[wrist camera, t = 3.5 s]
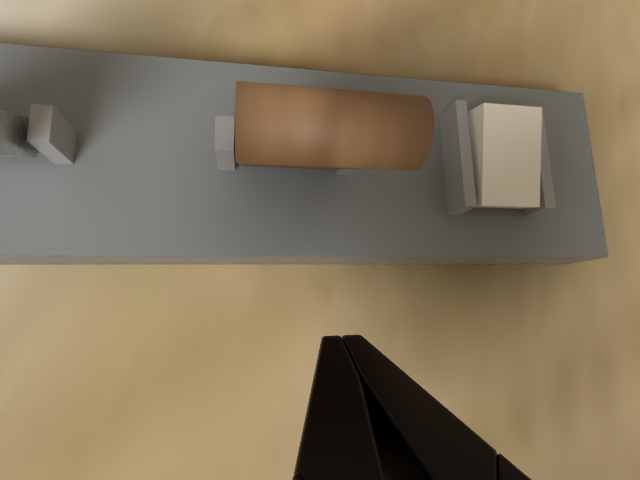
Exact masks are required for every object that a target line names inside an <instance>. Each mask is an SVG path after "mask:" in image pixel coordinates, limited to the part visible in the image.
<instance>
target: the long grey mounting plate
mask: <svg viewBox="0 0 640 480" xmlns="http://www.w3.org/2000/svg"><path fill="white" fill-rule="evenodd" d="M236 81H244V82H257V83H270V84H282V85H295V86H308V87H321V88H333V89H346V90H359V91H371V92H384V93H397V94H410V95H422V96H426V97H428V98H429V100H430V101H431V104H432V107H433V111H434V136H433V142H432V146H431V150H430V153H429V156H428V158H427V160H426V162H425V164H424V165H423V166H422V168H420V169H419V170H417V171H405V170H382V169H340V170H327V169H303V168H279V167H255V166H241V165H240V164H239V163H236V157H235V95H236ZM483 103H493V104H506V105H518V106H531V107H542V133H541V175H540V207H535V208H523V209H516V208H478V207H476V206H477V204H476V194H475V183H474V173H473V163H472V153H471V143H470V133H469V123H468V112H469V111H470V110H472V109H473V108H475V107H477V106H479V105H481V104H483ZM0 110H2V111H6V112H10V113H14V114H18V115H21V116H25V117H29V126H28V135H27V142H29V143H30V144H31V145H32V146H33V147H35V148H36V149H37V150H38V151H40V152H41V153H38V157H18V156H0V264H569V263H575V262H581V261H587V260H593V259H599V258H605V257H608V252H607V245H606V239H605V233H604V226H603V220H602V214H601V207H600V201H599V195H598V188H597V182H596V175H595V169H594V163H593V156H592V150H591V144H590V137H589V131H588V125H587V118H586V112H585V106H584V99H583V93H575V92H563V91H552V90H540V89H529V88H517V87H505V86H494V85H482V84H471V83H459V82H447V81H436V80H424V79H413V78H401V77H389V76H378V75H366V74H355V73H343V72H332V71H320V70H308V69H297V68H285V67H274V66H262V65H250V64H239V63H227V62H216V61H204V60H192V59H181V58H169V57H158V56H146V55H134V54H123V53H111V52H100V51H88V50H76V49H65V48H53V47H42V46H30V45H18V44H7V43H0Z"/></svg>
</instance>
